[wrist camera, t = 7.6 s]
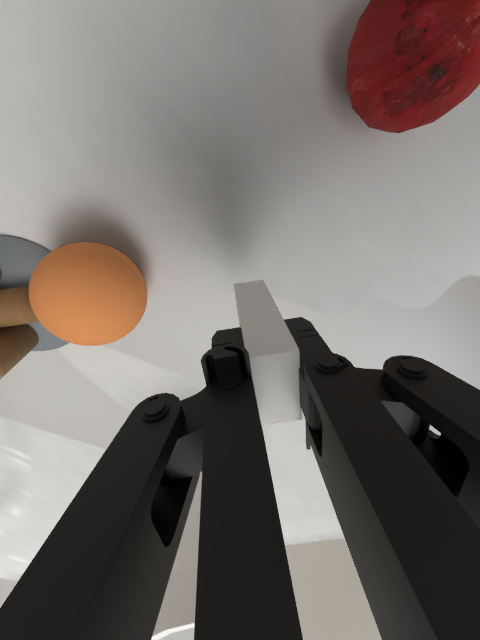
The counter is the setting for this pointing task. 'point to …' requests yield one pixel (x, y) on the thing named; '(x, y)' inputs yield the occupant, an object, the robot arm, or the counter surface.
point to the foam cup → (182, 582)
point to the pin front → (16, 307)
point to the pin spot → (25, 279)
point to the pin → (15, 345)
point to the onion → (413, 61)
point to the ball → (87, 293)
